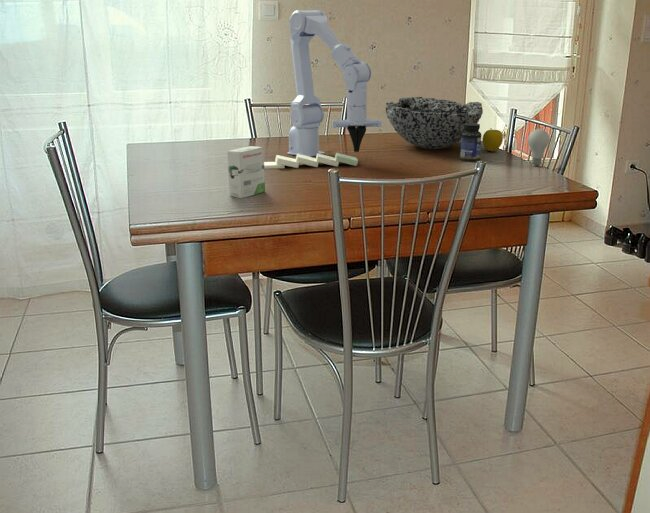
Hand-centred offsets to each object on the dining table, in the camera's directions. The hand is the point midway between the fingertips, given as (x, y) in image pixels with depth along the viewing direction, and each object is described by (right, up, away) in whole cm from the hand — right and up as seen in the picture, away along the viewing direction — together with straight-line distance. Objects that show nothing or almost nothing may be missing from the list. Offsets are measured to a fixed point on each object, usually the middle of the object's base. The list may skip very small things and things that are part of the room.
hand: (356, 151), depth 218 cm
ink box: (-29, -16, -32) cm, 46 cm away
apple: (+45, +2, +19) cm, 49 cm away
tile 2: (-18, -4, -1) cm, 18 cm away
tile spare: (0, -3, +1) cm, 3 cm away
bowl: (+27, +5, +26) cm, 38 cm away
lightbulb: (+53, -5, -3) cm, 54 cm away
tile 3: (-12, -3, 0) cm, 12 cm away
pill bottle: (+35, -2, +7) cm, 36 cm away
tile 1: (-22, -4, -1) cm, 22 cm away
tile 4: (-6, -3, +1) cm, 7 cm away
